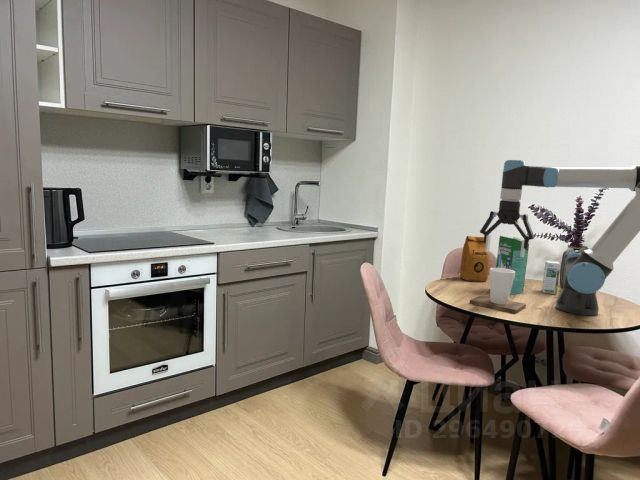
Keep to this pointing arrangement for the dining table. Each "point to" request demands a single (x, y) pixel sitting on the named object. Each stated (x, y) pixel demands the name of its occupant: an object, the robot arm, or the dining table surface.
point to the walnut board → (509, 307)
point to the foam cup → (500, 284)
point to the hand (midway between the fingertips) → (504, 254)
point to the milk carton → (513, 261)
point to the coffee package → (474, 260)
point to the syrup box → (551, 277)
